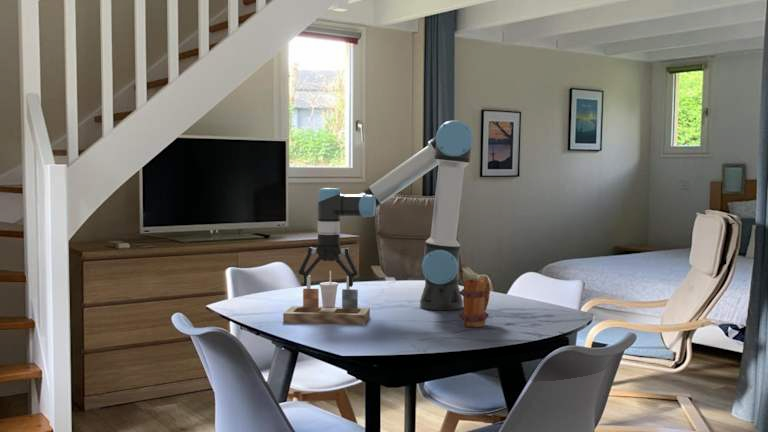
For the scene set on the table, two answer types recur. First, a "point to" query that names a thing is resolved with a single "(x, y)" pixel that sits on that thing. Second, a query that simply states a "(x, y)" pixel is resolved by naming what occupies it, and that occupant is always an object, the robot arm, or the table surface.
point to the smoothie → (328, 293)
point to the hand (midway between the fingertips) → (328, 295)
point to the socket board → (327, 310)
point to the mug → (475, 301)
